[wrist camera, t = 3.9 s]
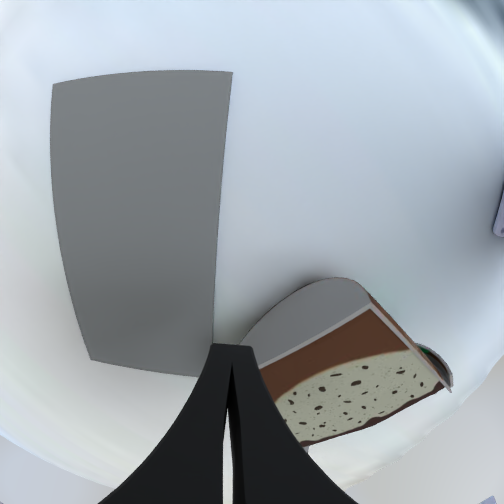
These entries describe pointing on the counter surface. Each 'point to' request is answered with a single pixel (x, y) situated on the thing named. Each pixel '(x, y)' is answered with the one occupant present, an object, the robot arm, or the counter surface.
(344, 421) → the food container
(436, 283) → the counter surface
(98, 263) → the mat
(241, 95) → the counter surface
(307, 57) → the counter surface
